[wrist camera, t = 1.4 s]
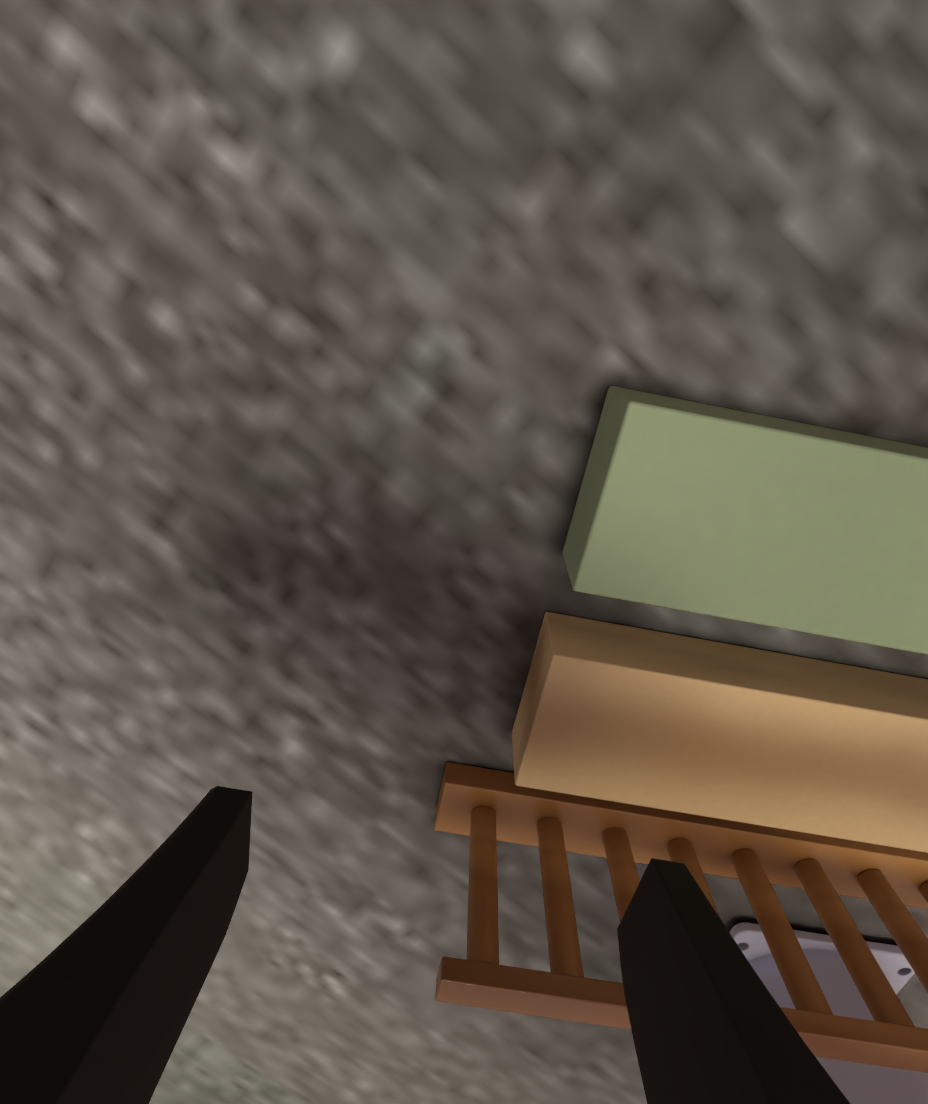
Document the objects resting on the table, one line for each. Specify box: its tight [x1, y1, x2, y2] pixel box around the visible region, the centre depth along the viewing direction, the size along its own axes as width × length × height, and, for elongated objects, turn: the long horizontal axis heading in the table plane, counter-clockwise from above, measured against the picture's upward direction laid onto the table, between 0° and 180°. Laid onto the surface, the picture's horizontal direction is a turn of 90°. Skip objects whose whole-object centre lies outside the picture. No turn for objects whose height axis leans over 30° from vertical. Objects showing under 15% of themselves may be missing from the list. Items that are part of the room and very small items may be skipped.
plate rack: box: [434, 762, 928, 1073], centre depth 19 cm, size 2×20×7 cm, turn 80°
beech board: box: [512, 612, 928, 853], centre depth 18 cm, size 5×14×2 cm, turn 80°
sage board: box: [562, 386, 928, 654], centre depth 15 cm, size 5×14×2 cm, turn 80°
